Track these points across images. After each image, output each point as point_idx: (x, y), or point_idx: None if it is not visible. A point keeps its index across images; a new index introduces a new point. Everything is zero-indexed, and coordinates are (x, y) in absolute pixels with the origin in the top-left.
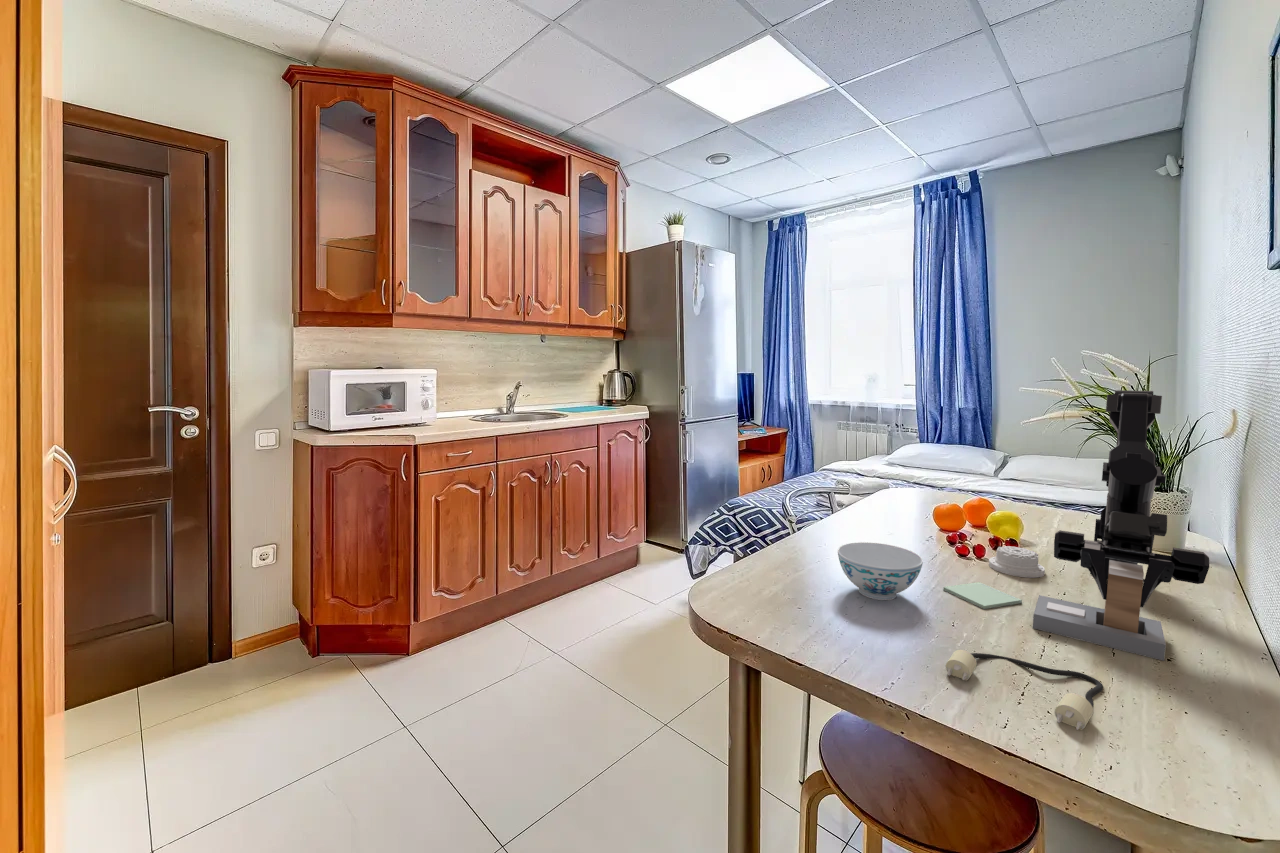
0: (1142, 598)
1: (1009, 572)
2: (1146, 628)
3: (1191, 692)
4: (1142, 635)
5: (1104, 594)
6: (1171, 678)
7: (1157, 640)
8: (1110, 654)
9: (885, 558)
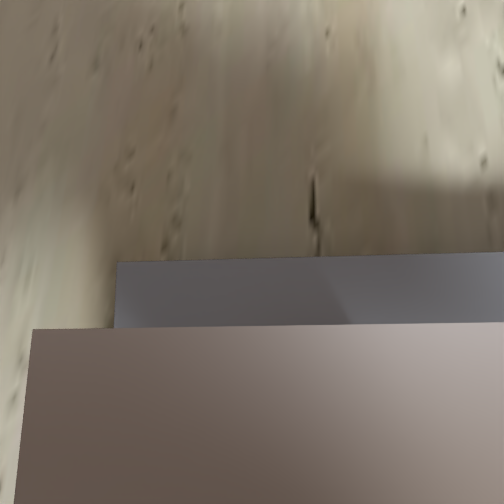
0: None
1: None
2: None
3: (96, 52)
4: (202, 317)
5: None
6: (138, 120)
7: (145, 297)
8: (322, 193)
9: None
